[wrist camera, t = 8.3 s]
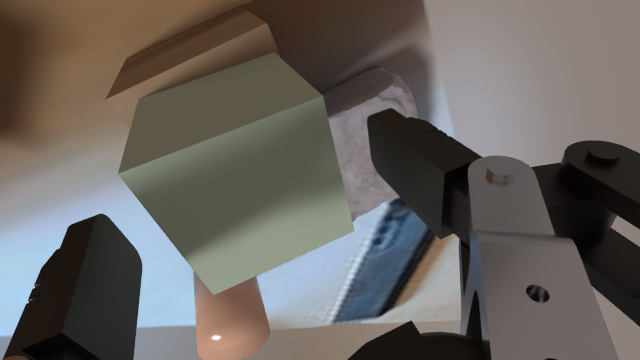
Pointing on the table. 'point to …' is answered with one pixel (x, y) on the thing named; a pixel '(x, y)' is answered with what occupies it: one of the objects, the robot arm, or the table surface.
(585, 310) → the robot arm
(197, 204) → the sage cube
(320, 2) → the table surface
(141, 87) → the walnut cube
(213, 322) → the terracotta cylinder
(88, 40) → the table surface
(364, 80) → the stone block
